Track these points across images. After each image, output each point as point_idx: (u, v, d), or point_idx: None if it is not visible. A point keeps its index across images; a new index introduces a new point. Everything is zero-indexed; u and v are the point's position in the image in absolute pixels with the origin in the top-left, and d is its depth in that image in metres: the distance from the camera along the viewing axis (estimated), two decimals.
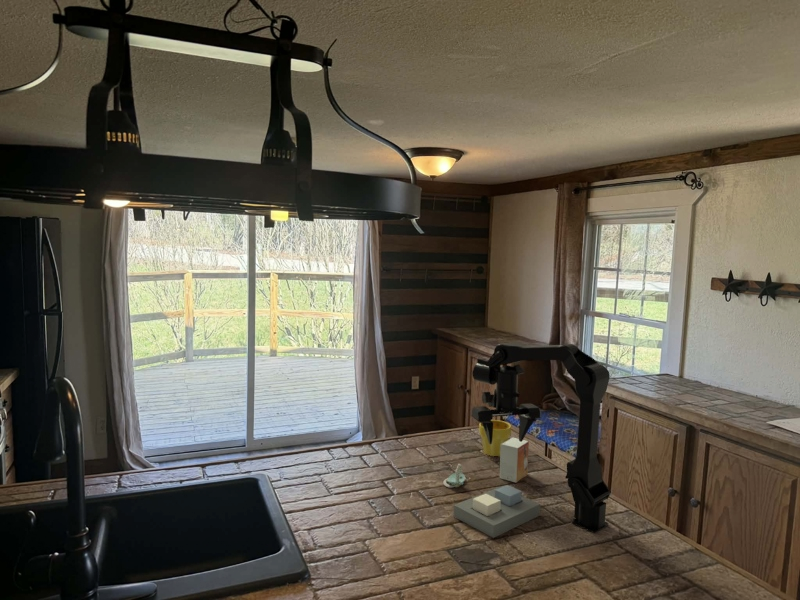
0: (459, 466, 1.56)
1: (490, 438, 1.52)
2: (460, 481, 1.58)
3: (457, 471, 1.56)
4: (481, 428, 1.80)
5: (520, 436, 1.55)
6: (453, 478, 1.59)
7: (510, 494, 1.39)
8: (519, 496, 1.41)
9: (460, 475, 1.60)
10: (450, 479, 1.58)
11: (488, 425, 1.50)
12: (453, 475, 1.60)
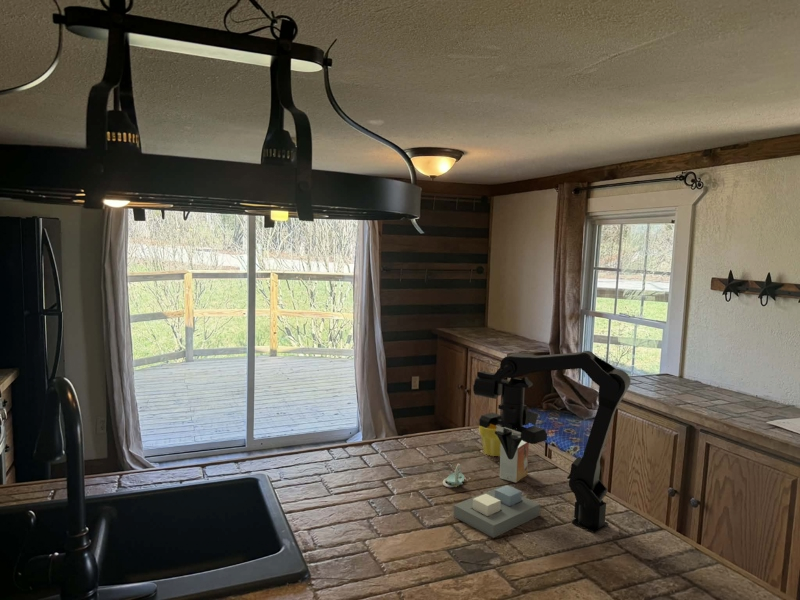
0: (458, 466, 1.56)
1: (506, 452, 1.46)
2: (459, 481, 1.58)
3: (456, 471, 1.56)
4: (481, 428, 1.80)
5: None
6: (452, 478, 1.59)
7: (510, 494, 1.39)
8: (519, 496, 1.41)
9: (459, 475, 1.60)
10: (449, 479, 1.59)
11: (498, 436, 1.46)
12: (452, 475, 1.60)
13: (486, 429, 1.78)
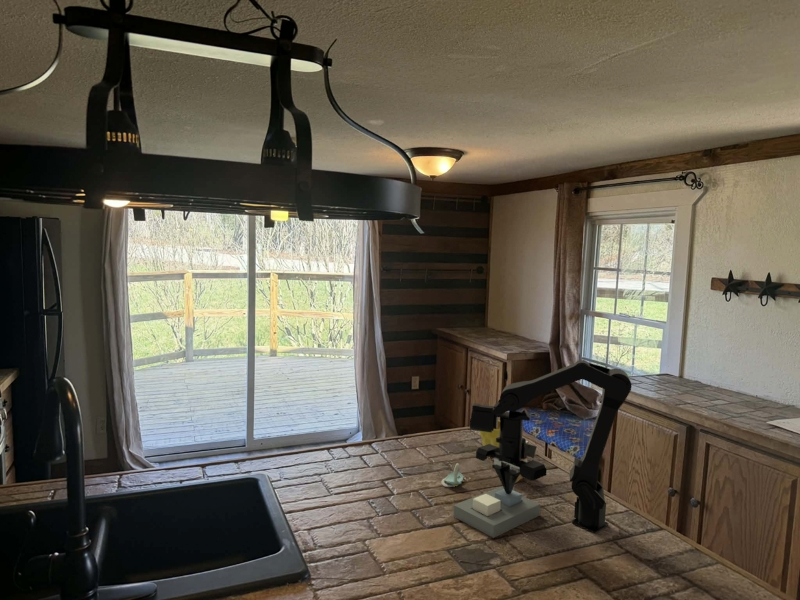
0: (457, 466, 1.56)
1: (503, 486, 1.41)
2: (458, 481, 1.58)
3: (455, 471, 1.56)
4: None
5: None
6: (451, 478, 1.59)
7: (510, 497, 1.39)
8: (519, 499, 1.41)
9: (458, 475, 1.60)
10: (448, 479, 1.59)
11: (496, 470, 1.41)
12: (451, 474, 1.61)
13: None
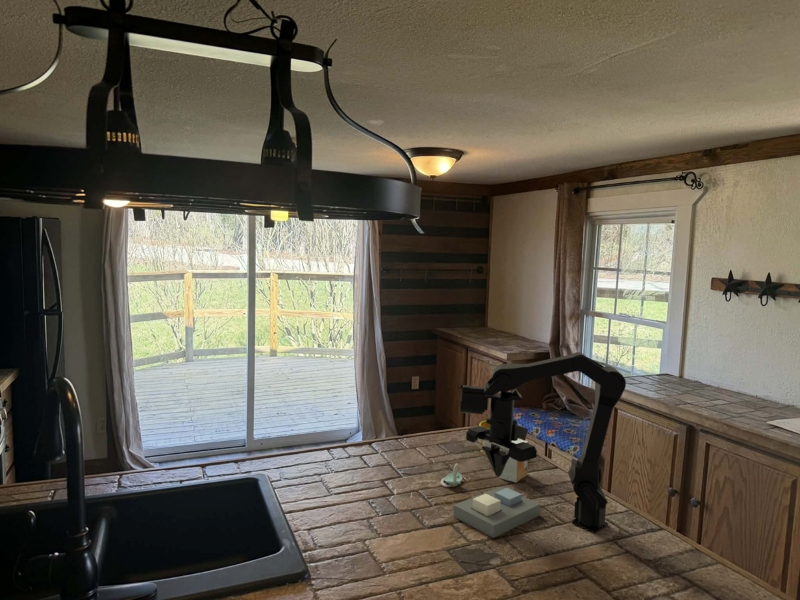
0: (456, 466, 1.57)
1: (493, 468, 1.39)
2: (457, 481, 1.58)
3: (454, 471, 1.56)
4: None
5: None
6: (450, 478, 1.59)
7: (510, 497, 1.39)
8: (519, 499, 1.41)
9: (457, 475, 1.60)
10: (447, 479, 1.59)
11: (486, 452, 1.38)
12: (450, 474, 1.61)
13: None
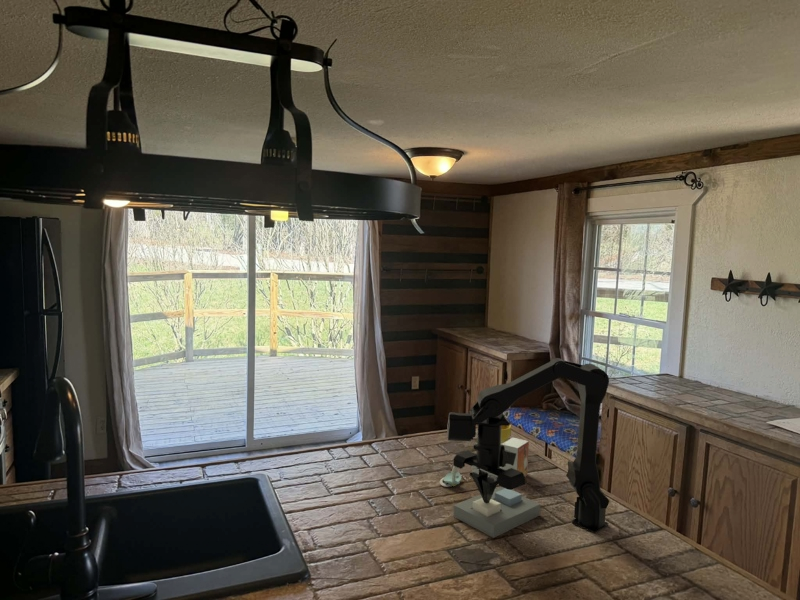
0: None
1: (481, 495, 1.36)
2: (456, 480, 1.58)
3: (453, 470, 1.56)
4: None
5: None
6: (449, 477, 1.60)
7: (510, 497, 1.39)
8: (519, 499, 1.41)
9: (456, 474, 1.60)
10: (446, 478, 1.59)
11: (473, 478, 1.36)
12: (449, 474, 1.61)
13: None
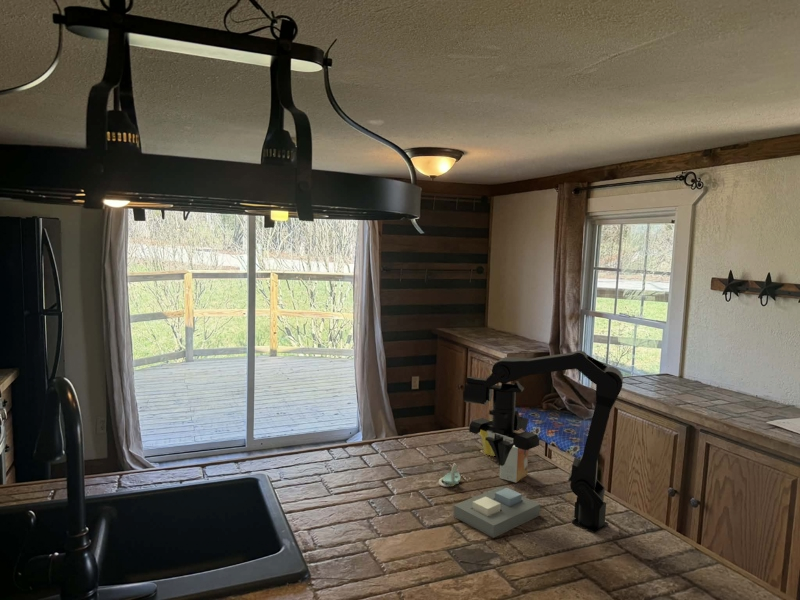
0: (454, 465, 1.57)
1: (497, 458, 1.43)
2: (455, 480, 1.58)
3: (452, 470, 1.56)
4: None
5: None
6: (448, 477, 1.60)
7: (510, 497, 1.39)
8: (519, 499, 1.41)
9: (455, 474, 1.61)
10: (445, 478, 1.59)
11: (489, 442, 1.43)
12: (448, 474, 1.61)
13: None
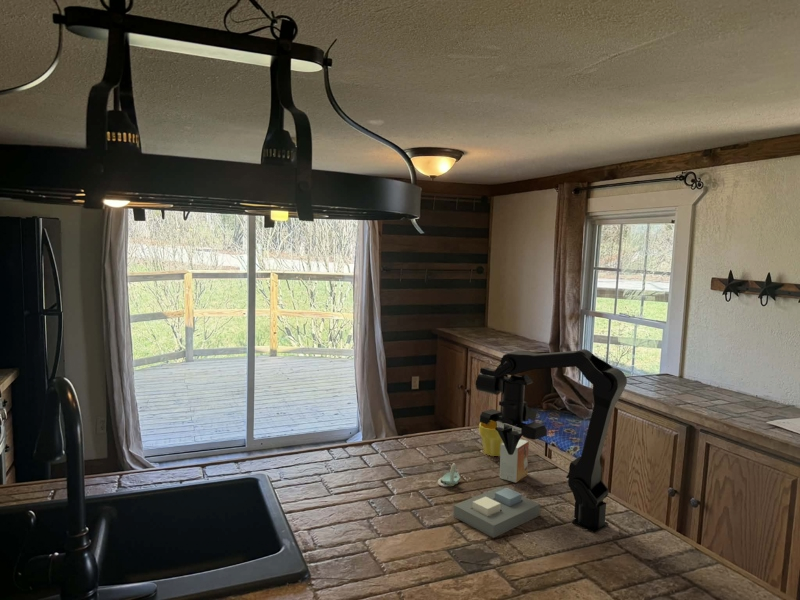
0: (453, 465, 1.57)
1: (506, 447, 1.49)
2: (454, 480, 1.58)
3: (451, 470, 1.56)
4: (481, 428, 1.80)
5: None
6: (448, 477, 1.60)
7: (510, 497, 1.39)
8: (519, 499, 1.41)
9: (455, 474, 1.61)
10: (445, 478, 1.59)
11: (499, 432, 1.48)
12: (447, 474, 1.61)
13: (486, 429, 1.78)
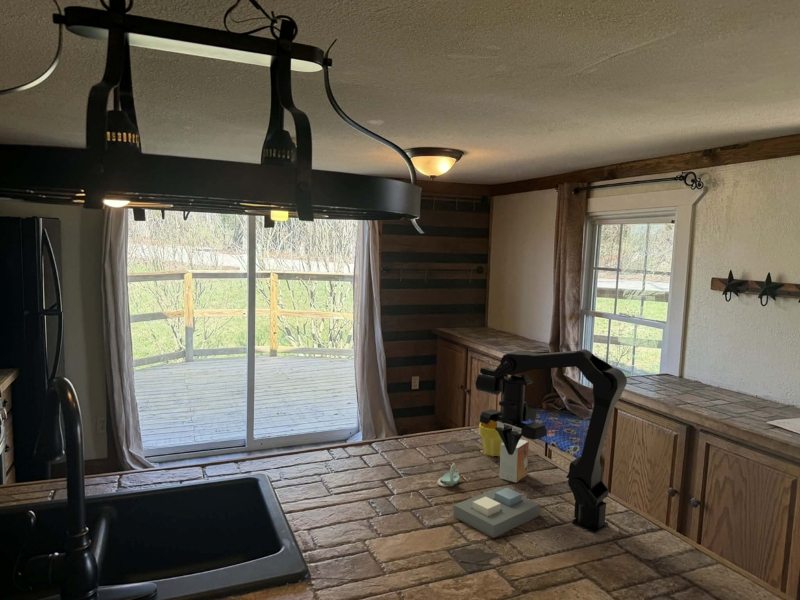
0: (453, 465, 1.57)
1: (506, 447, 1.49)
2: (454, 480, 1.58)
3: (451, 470, 1.56)
4: (481, 428, 1.80)
5: None
6: (447, 477, 1.60)
7: (510, 497, 1.39)
8: (519, 499, 1.41)
9: (454, 474, 1.61)
10: (444, 478, 1.59)
11: (499, 432, 1.48)
12: (447, 474, 1.61)
13: (486, 429, 1.78)
